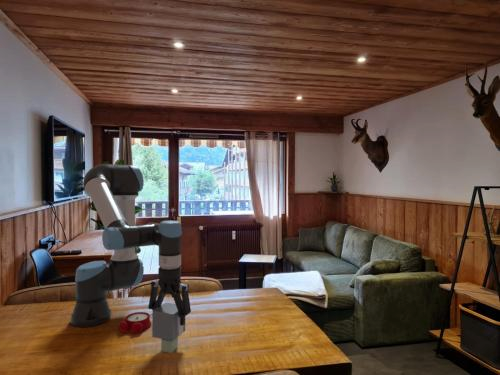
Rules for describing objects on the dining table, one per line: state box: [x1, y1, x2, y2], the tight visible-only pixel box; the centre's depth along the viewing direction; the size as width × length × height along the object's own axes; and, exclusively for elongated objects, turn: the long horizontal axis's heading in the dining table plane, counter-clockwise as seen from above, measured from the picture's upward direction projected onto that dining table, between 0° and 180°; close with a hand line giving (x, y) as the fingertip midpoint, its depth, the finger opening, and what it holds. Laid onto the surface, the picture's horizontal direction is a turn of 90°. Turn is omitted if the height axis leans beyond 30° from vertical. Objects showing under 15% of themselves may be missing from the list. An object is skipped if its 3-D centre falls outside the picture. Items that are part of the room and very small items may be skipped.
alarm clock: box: [118, 311, 152, 335], centre depth 132 cm, size 10×6×15 cm
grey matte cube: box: [151, 302, 186, 341], centre depth 116 cm, size 8×8×9 cm
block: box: [160, 337, 179, 354], centre depth 116 cm, size 4×4×4 cm
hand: (169, 331), depth 116 cm, fingers closed on grey matte cube, 8 cm apart
